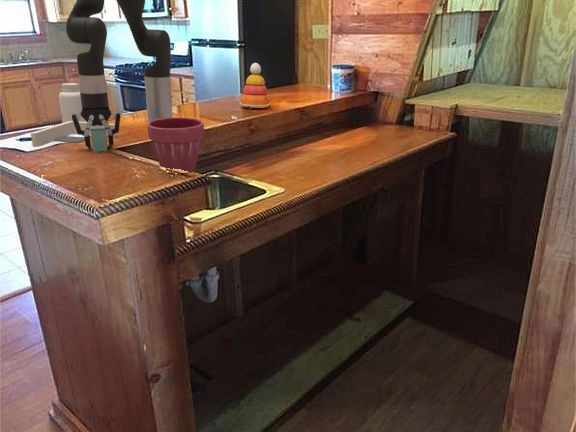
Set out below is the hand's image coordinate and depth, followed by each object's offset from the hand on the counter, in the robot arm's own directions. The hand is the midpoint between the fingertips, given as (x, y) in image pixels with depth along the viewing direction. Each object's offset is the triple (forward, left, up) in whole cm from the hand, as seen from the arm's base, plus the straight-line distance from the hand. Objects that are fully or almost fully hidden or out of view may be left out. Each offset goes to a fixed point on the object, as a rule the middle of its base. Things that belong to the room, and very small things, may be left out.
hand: (100, 147), depth 152 cm
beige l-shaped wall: (-7, -12, 0) cm, 14 cm away
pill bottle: (-26, -25, -1) cm, 36 cm away
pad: (-8, -15, 0) cm, 17 cm away
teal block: (0, 0, -1) cm, 1 cm away
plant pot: (+14, +31, -1) cm, 34 cm away
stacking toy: (-87, +26, -1) cm, 91 cm away
